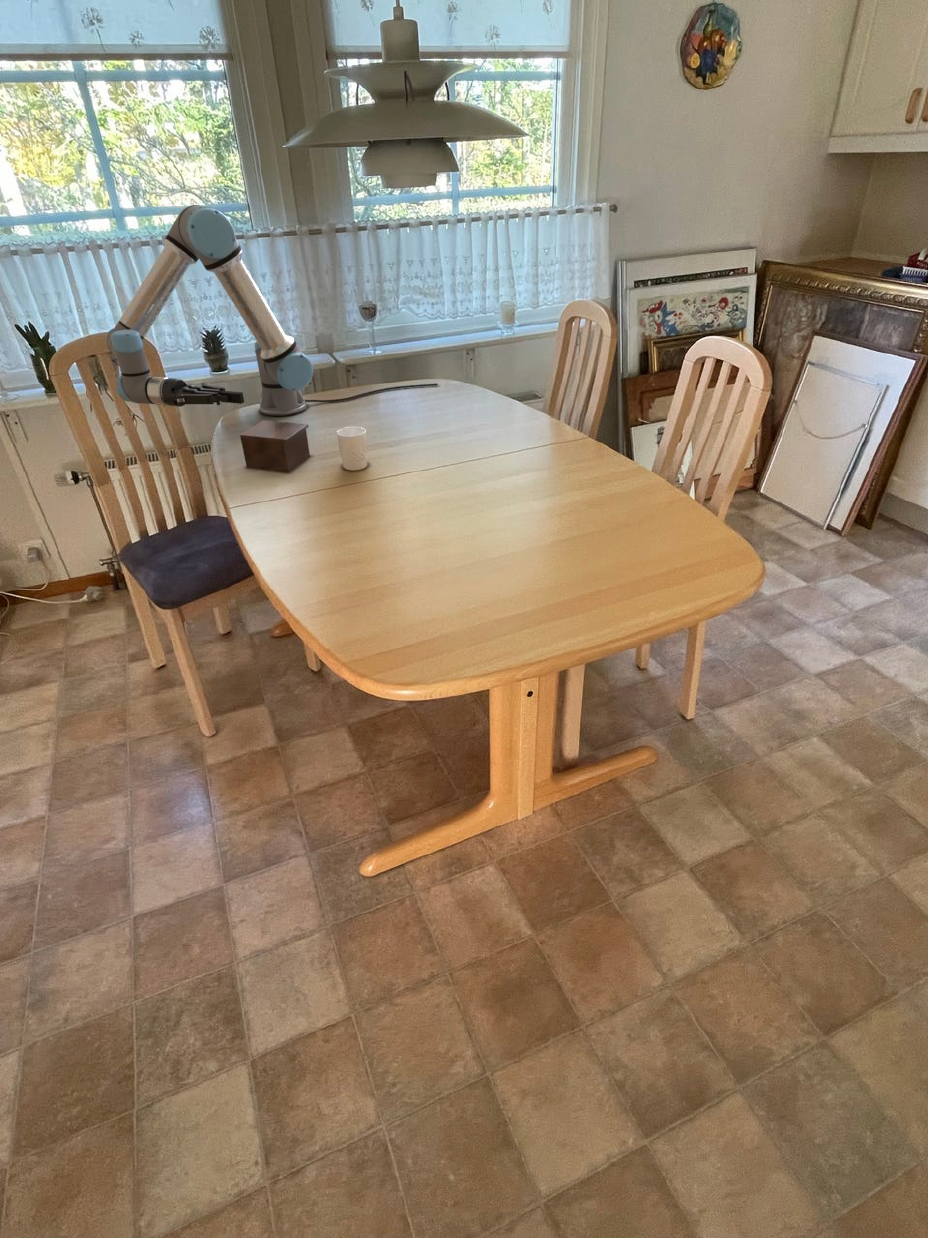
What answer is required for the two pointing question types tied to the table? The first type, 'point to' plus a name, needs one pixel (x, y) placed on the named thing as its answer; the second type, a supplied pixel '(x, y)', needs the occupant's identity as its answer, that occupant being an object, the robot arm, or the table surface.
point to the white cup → (353, 447)
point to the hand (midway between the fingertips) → (241, 397)
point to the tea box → (276, 453)
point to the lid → (274, 431)
